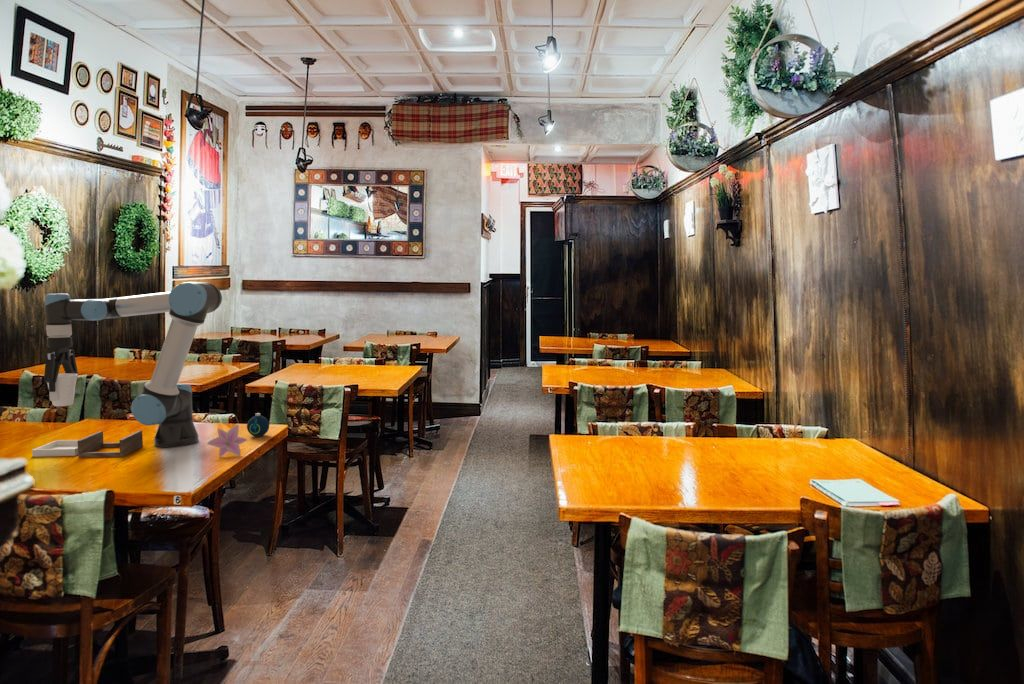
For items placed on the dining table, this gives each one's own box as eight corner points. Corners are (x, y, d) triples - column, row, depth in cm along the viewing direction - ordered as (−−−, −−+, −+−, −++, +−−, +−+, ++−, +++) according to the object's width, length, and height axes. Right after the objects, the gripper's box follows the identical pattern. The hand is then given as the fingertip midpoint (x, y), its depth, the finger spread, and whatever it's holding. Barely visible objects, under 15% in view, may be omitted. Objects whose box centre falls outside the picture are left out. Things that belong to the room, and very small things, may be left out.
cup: (62, 408, 231) (61, 377, 230) (39, 406, 232) (37, 376, 231) (86, 403, 240) (84, 373, 239) (63, 402, 242) (61, 372, 241)
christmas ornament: (242, 437, 260) (241, 412, 259) (257, 433, 268) (256, 409, 267) (259, 439, 257) (258, 414, 257) (274, 434, 265) (273, 410, 264)
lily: (202, 459, 232) (204, 438, 228) (219, 439, 243) (221, 419, 238) (235, 469, 233) (237, 449, 228) (250, 449, 243) (253, 429, 239)
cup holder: (142, 446, 246) (142, 430, 245) (123, 456, 231) (122, 439, 230) (100, 446, 244) (100, 431, 244) (78, 457, 229) (77, 440, 229)
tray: (96, 445, 246) (96, 439, 245) (75, 455, 232) (74, 449, 231) (56, 446, 244) (56, 440, 244) (32, 456, 230) (32, 449, 230)
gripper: (66, 334, 245) (69, 393, 247) (28, 339, 223) (32, 403, 225) (87, 334, 245) (90, 392, 247) (52, 339, 224) (55, 403, 226)
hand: (62, 398), depth 236 cm, fingers closed on cup, 9 cm apart
